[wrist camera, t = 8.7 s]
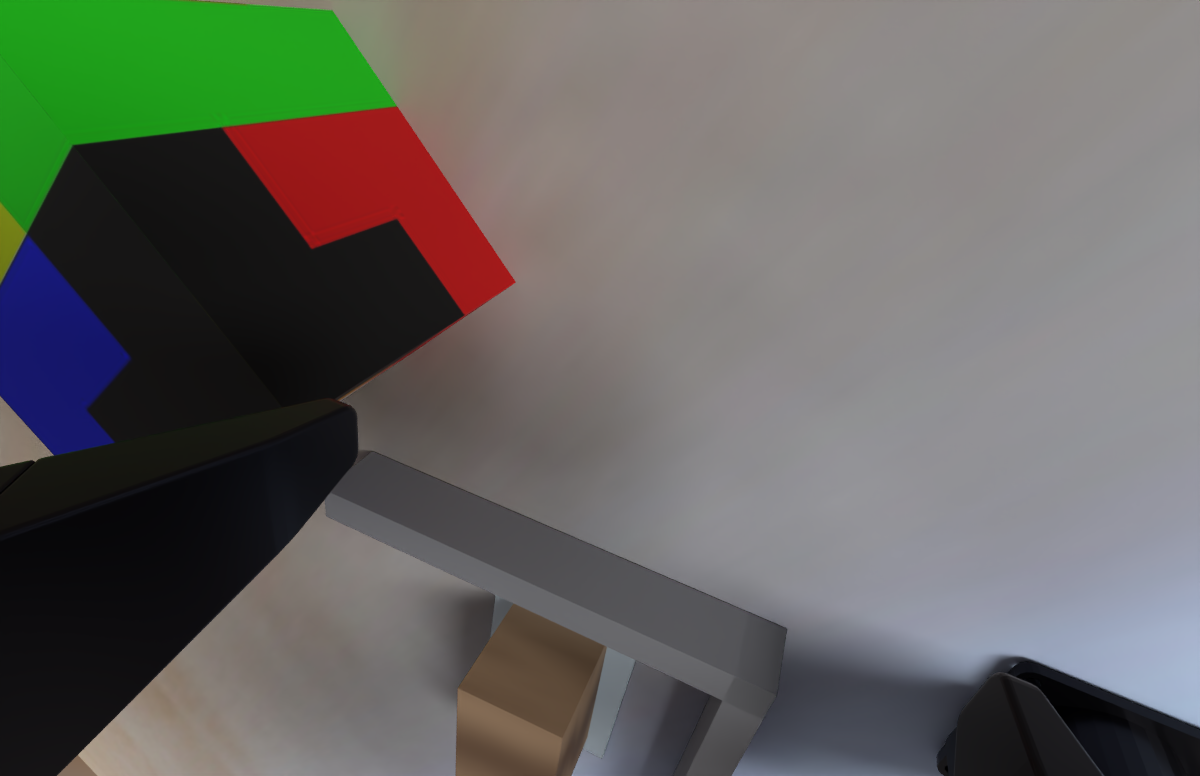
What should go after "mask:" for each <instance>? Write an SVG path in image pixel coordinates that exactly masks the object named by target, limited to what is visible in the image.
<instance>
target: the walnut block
mask: <svg viewBox="0 0 1200 776" xmlns="http://www.w3.org/2000/svg"><path fill="white" fill-rule="evenodd" d="M606 649H607V647H606V646H604V645H602V644H600V643H598V642H596V641H593V640H591V639H589V638H587V637H585V636H583V635H580V634H578V633H576V632H574V631H572V630H570V629H568V628H565V627H563V626H561V625H559V624H557V623H555V622H553V621H550V620H548V619H546V618H544V617H542V616H540V615H537V614H535V613H533V612H531V611H529V610H527V609H525V608H522V607H520V606H518V605H516V604H514V603H513V605H512V606H511V608H510V609H509V611H508V612H507V614H506V615H505V617H504V619H503V620H502V622H501V623H500V625H499V626H498V628H497V629H496V631H495V632H494V634H493V635H492V637H491V638H490V640H489V641H488V643H487V644H486V646H485V647H484V649H483V650H482V652H481V654H480V655H479V657H478V658H477V660H476V661H475V663H474V664H473V666H472V667H471V669H470V670H469V672H468V673H467V675H466V676H465V678H464V679H463V681H462V682H461V684H460V685H459V687H458V699H457V739H456V776H571V775H572V773H573V770H574V768H575V766H576V763H577V761H578V758H579V756H580V754H581V751H582V749H583V747H584V744H585V742H586V739H587V737H588V732H589V728H590V723H591V718H592V714H593V709H594V705H595V700H596V695H597V691H598V686H599V682H600V677H601V672H602V668H603V663H604V659H605V654H606Z"/></svg>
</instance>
